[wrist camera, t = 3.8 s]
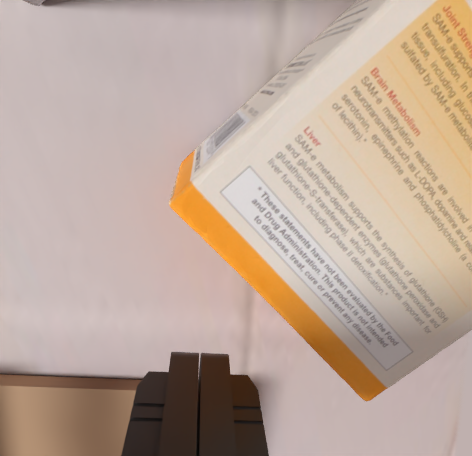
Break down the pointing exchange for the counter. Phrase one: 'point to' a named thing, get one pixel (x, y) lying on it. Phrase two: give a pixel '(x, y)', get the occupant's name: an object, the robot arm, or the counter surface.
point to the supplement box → (353, 189)
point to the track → (64, 415)
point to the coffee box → (35, 2)
